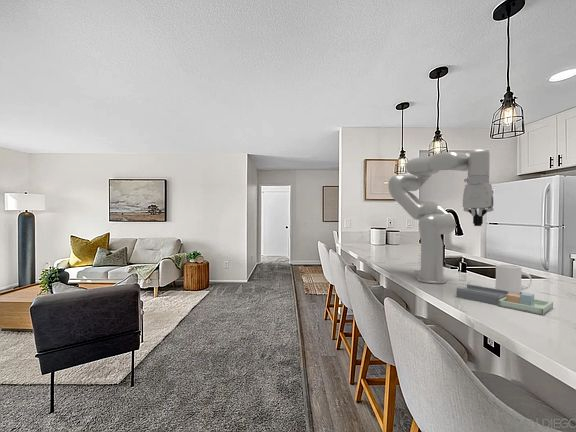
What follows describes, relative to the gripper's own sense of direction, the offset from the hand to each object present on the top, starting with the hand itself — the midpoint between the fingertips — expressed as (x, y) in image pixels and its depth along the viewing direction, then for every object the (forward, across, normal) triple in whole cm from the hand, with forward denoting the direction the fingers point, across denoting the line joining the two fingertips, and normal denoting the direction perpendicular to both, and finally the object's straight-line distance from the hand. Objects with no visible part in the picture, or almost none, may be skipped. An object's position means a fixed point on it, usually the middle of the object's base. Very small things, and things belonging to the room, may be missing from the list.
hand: (477, 225), depth 127 cm
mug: (+27, +9, +12) cm, 31 cm away
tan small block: (+27, +15, -9) cm, 32 cm away
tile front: (+25, +18, -9) cm, 32 cm away
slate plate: (+27, +5, -9) cm, 29 cm away
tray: (+27, +18, -9) cm, 34 cm away
